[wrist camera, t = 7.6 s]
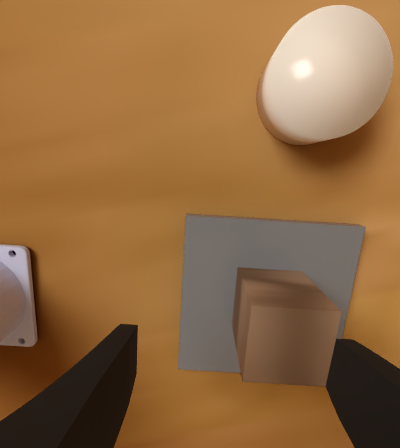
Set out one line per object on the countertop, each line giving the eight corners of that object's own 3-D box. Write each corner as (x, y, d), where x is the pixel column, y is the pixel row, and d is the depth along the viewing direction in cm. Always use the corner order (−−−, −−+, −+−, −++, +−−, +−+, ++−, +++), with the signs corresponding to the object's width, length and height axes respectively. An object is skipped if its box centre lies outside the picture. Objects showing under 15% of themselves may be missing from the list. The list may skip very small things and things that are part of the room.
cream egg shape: (251, 142, 16) (264, 135, 13) (261, 38, 15) (279, 0, 12) (341, 148, 16) (378, 142, 13) (359, 45, 15) (405, 9, 12)
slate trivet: (179, 361, 20) (178, 369, 19) (186, 213, 17) (185, 215, 16) (328, 370, 20) (333, 378, 19) (358, 224, 17) (365, 226, 17)
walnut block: (231, 324, 18) (242, 381, 13) (237, 267, 17) (251, 305, 12) (292, 328, 18) (325, 386, 13) (302, 271, 17) (341, 311, 12)
